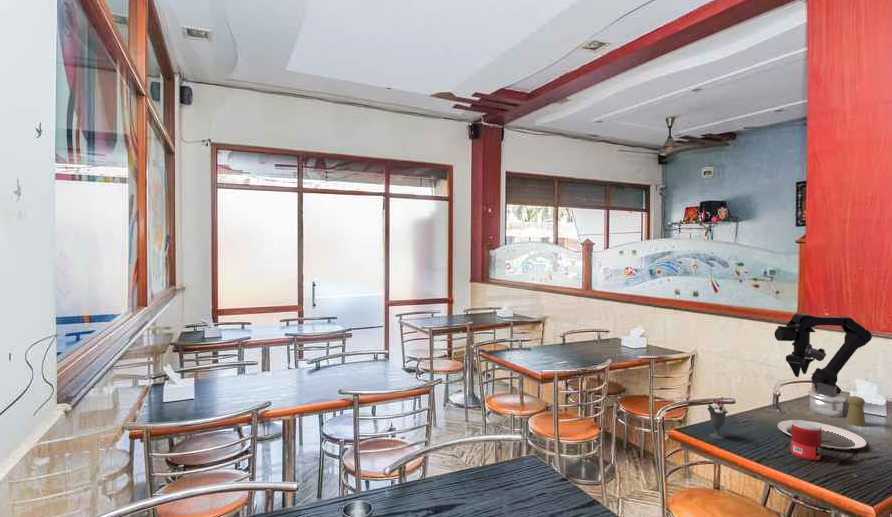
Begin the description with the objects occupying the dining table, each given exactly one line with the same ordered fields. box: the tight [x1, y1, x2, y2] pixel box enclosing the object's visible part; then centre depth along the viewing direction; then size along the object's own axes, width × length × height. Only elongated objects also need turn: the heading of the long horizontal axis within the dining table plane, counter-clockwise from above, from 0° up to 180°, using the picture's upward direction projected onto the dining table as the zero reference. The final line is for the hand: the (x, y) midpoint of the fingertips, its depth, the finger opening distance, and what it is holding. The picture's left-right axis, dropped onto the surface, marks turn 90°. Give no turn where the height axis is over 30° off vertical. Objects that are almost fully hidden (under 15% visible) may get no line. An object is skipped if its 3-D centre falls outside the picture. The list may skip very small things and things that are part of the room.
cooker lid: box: [807, 383, 847, 403], centre depth 196 cm, size 13×13×6 cm
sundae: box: [707, 396, 729, 441], centre depth 169 cm, size 7×7×15 cm
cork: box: [845, 395, 867, 428], centre depth 183 cm, size 6×6×11 cm
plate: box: [777, 419, 867, 450], centre depth 170 cm, size 26×26×2 cm
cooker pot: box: [809, 396, 844, 418], centre depth 196 cm, size 11×11×7 cm
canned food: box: [790, 419, 823, 462], centre depth 154 cm, size 8×8×11 cm
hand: (800, 375), depth 207 cm, fingers open, 9 cm apart
